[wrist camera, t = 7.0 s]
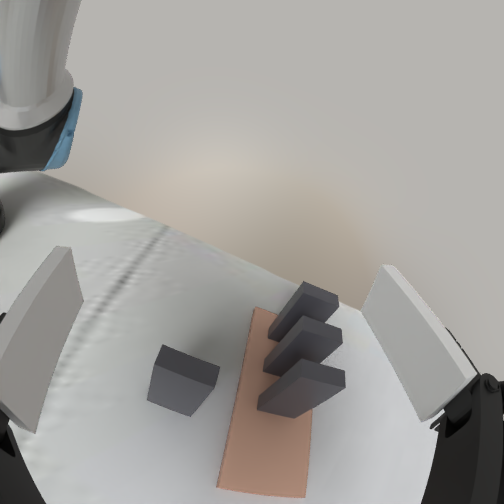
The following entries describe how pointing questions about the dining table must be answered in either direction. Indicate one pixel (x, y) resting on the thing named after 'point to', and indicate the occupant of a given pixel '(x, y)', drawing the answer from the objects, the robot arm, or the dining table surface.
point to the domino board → (264, 429)
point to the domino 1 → (181, 381)
